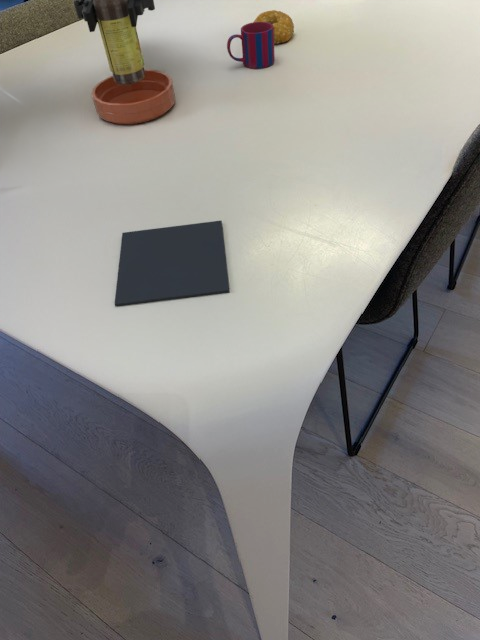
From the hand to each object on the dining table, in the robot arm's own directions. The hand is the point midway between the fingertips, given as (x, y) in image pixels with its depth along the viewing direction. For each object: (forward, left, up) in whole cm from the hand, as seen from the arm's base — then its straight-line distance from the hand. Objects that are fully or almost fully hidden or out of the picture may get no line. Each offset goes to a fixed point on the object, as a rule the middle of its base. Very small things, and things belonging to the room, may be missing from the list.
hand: (110, 20), depth 80 cm
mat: (+7, -42, -17) cm, 46 cm away
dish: (0, +5, -17) cm, 17 cm away
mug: (+24, +19, -17) cm, 35 cm away
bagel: (+30, +32, -17) cm, 47 cm away
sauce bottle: (0, +5, -12) cm, 13 cm away
